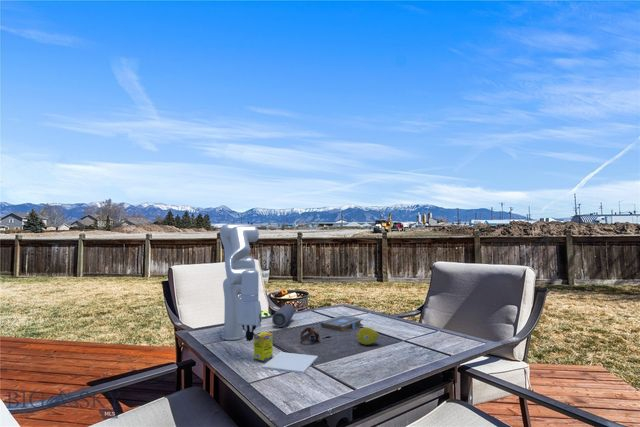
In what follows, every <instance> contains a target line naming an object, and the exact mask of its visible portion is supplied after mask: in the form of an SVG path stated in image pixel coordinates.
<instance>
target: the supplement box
mask: <svg viewBox="0 0 640 427" xmlns="http://www.w3.org/2000/svg"><path fill="white" fill-rule="evenodd" d="M273 336H274V335H273V332H267V331H262V332H259V333H254V337H253V360H254V361H257V362H260V363H266V362H268V361H270V360H271V359H272V358H273V352H274V351H273V350H274V349H273V347H274V346H273V341H274V340H273V339H274V338H273Z"/></svg>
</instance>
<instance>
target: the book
mask: <svg viewBox="0 0 640 427" xmlns="http://www.w3.org/2000/svg"><path fill="white" fill-rule="evenodd" d="M362 321H364V319H363V318H359V317H353V316H347V315H339V316H336V317H333V318H330V319H328V320H324V321H322V322H320V323H319V327H320V329H321V330H325V331H330V332H334V333H337V334H338V333H339V334H346V333H348V332H351V331H353V330H355V329H358V328H360V326H361V327H363V326H364V324H362V323H361V322H362Z"/></svg>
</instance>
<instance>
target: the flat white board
mask: <svg viewBox="0 0 640 427" xmlns="http://www.w3.org/2000/svg"><path fill="white" fill-rule="evenodd" d="M318 357H319V356H318V355H313V354H304V353H303V354H301V353H292V352H285V351H279V352H277V354H276V355H274V357H273V356H272V359H270V360H268V361H266V362H265V364H263V365H262V366H261V369H266V370H267V369H268V370H274V371H275V370H276V371H284V372H293V373H299V374H300V373H301V374H304V373H305V372H306V371H307V370H308V369H309V368H310V366H311V365H312V364H313V363H314V362H315V361H316V360H317V359H318Z"/></svg>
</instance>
